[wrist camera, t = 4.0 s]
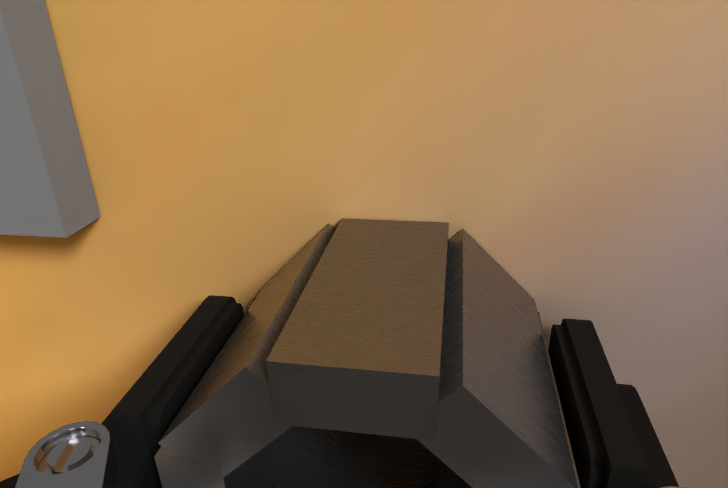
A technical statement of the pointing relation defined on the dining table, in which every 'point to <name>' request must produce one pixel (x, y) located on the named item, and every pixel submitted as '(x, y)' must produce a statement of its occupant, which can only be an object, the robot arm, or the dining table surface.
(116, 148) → the dining table surface
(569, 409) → the robot arm
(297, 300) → the collar
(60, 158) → the post base
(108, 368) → the dining table surface
